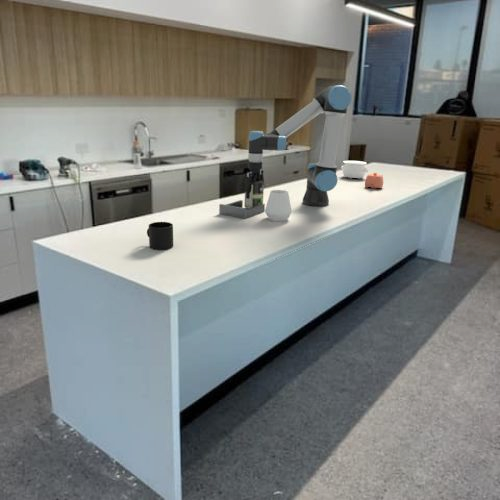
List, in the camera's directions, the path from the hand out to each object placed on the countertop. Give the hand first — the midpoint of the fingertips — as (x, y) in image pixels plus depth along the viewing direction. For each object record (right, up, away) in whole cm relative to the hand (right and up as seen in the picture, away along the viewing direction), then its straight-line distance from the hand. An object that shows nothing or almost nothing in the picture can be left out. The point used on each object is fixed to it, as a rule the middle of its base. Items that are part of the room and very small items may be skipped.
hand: (253, 202), depth 249 cm
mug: (-39, -24, -64) cm, 79 cm away
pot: (+78, +30, +109) cm, 137 cm away
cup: (+12, -10, -18) cm, 24 cm away
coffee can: (0, -2, +1) cm, 3 cm away
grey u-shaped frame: (-6, -6, -8) cm, 11 cm away
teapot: (+84, +17, +71) cm, 111 cm away
